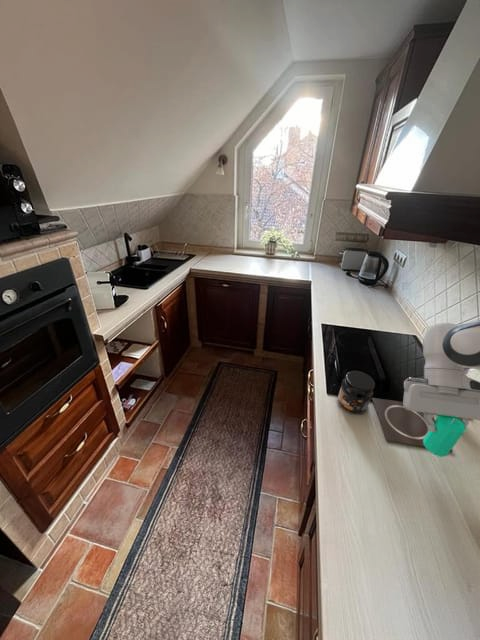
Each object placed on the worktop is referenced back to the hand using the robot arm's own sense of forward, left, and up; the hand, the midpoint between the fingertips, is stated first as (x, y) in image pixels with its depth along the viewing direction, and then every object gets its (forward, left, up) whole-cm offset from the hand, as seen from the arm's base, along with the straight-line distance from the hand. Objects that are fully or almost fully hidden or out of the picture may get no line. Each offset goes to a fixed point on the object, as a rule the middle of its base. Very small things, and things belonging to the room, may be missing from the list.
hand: (446, 433), depth 68 cm
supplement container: (+17, -20, -14) cm, 30 cm away
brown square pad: (0, -15, -14) cm, 20 cm away
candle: (0, -1, -7) cm, 7 cm away
